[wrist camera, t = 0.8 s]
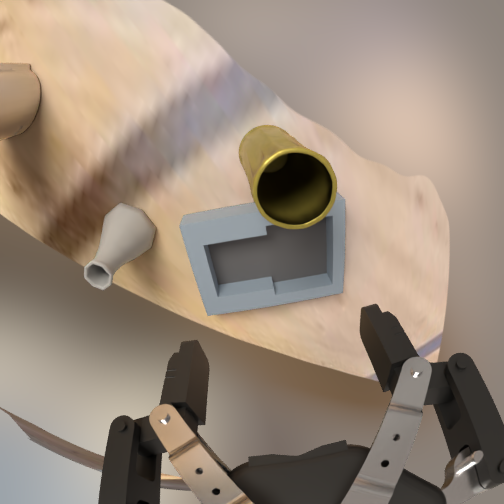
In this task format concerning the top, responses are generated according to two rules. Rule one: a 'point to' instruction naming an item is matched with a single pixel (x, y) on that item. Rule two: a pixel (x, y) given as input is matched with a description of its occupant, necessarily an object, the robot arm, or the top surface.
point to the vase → (287, 178)
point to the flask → (119, 243)
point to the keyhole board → (263, 258)
